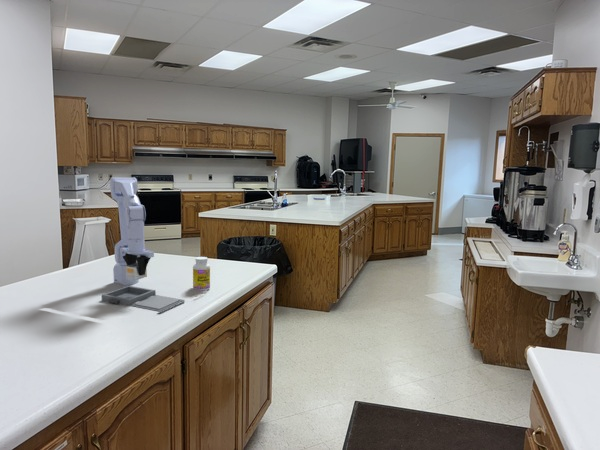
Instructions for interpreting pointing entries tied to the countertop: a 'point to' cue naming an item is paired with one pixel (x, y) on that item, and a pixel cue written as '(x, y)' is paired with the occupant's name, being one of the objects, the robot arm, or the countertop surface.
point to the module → (134, 272)
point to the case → (141, 299)
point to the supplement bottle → (201, 274)
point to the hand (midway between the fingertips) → (137, 274)
